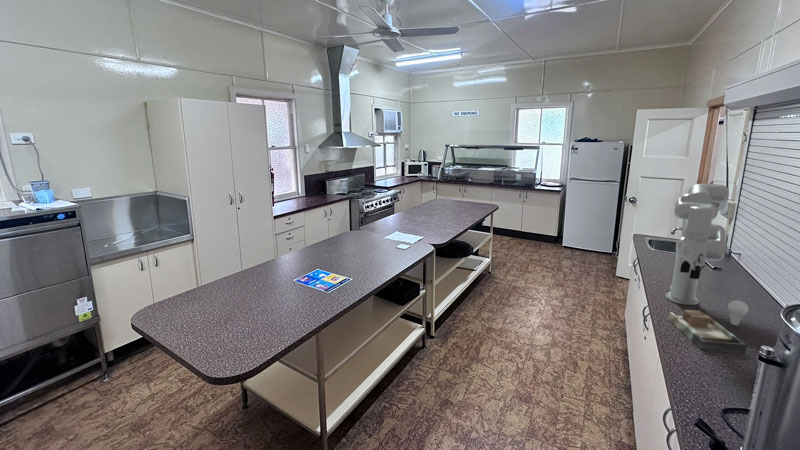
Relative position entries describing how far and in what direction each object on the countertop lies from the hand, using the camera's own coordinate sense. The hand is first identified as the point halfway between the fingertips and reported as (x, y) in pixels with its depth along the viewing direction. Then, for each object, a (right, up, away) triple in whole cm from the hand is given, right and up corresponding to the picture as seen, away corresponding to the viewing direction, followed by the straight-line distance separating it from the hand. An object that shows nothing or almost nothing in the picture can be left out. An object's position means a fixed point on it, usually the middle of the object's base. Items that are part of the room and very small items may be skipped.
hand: (689, 275), depth 150 cm
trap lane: (-3, -23, -10) cm, 25 cm away
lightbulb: (+16, -21, -3) cm, 27 cm away
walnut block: (-1, -19, -4) cm, 20 cm away
